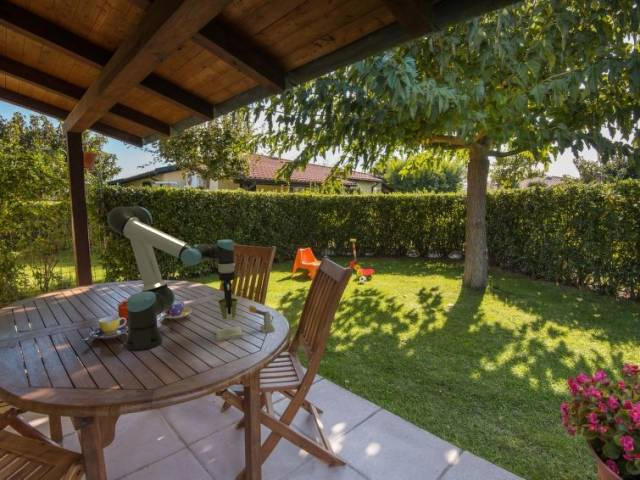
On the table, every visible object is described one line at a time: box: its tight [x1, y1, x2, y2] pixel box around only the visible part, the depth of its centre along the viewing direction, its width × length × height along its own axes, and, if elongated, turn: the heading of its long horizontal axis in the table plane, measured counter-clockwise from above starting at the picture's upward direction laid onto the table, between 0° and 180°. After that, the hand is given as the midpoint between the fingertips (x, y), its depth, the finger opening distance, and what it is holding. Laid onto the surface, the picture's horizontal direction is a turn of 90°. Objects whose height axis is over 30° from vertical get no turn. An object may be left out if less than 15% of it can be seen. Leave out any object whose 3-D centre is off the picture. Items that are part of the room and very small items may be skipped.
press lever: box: [248, 305, 270, 317], centre depth 173 cm, size 10×4×2 cm, turn 109°
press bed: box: [215, 326, 244, 342], centre depth 169 cm, size 12×11×2 cm
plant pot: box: [217, 297, 239, 320], centre depth 168 cm, size 9×9×9 cm
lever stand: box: [259, 310, 276, 334], centre depth 175 cm, size 6×7×9 cm
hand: (228, 317), depth 169 cm, fingers closed on plant pot, 8 cm apart
